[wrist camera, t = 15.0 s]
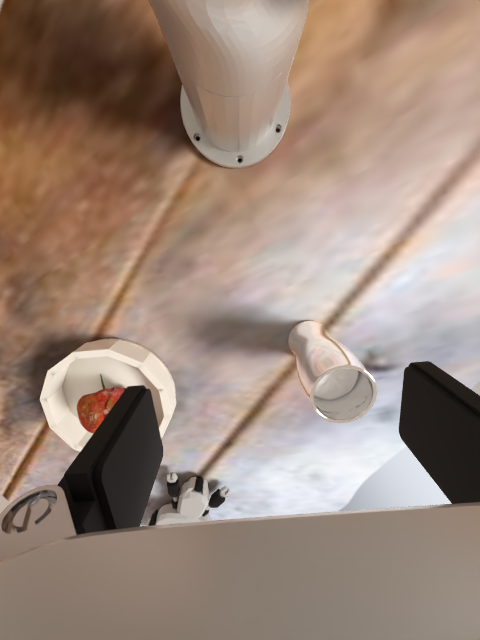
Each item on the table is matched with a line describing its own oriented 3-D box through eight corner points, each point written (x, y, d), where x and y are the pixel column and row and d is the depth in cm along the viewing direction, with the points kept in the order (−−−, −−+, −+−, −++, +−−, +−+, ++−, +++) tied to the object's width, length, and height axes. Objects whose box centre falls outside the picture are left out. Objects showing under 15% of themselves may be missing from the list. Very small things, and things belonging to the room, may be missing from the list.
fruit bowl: (46, 343, 42) (24, 356, 38) (165, 333, 42) (157, 344, 37) (78, 442, 48) (62, 463, 43) (184, 433, 47) (178, 454, 43)
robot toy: (169, 458, 50) (146, 523, 53) (163, 478, 45) (138, 547, 49) (234, 476, 51) (208, 538, 54) (234, 497, 47) (206, 564, 50)
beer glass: (291, 366, 43) (317, 432, 29) (279, 325, 41) (300, 375, 27) (336, 353, 43) (384, 414, 28) (325, 311, 41) (372, 354, 26)
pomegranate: (92, 384, 46) (101, 449, 42) (60, 378, 39) (67, 454, 35) (135, 369, 46) (148, 432, 42) (111, 360, 39) (124, 434, 35)
